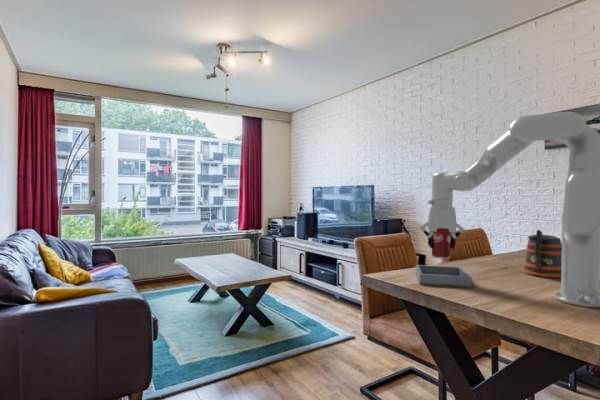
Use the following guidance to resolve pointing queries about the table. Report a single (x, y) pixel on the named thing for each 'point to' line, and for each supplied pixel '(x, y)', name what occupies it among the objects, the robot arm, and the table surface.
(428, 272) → the tray
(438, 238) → the soda can
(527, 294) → the table surface
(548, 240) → the beer stein
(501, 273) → the table surface
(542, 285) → the table surface
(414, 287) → the table surface
